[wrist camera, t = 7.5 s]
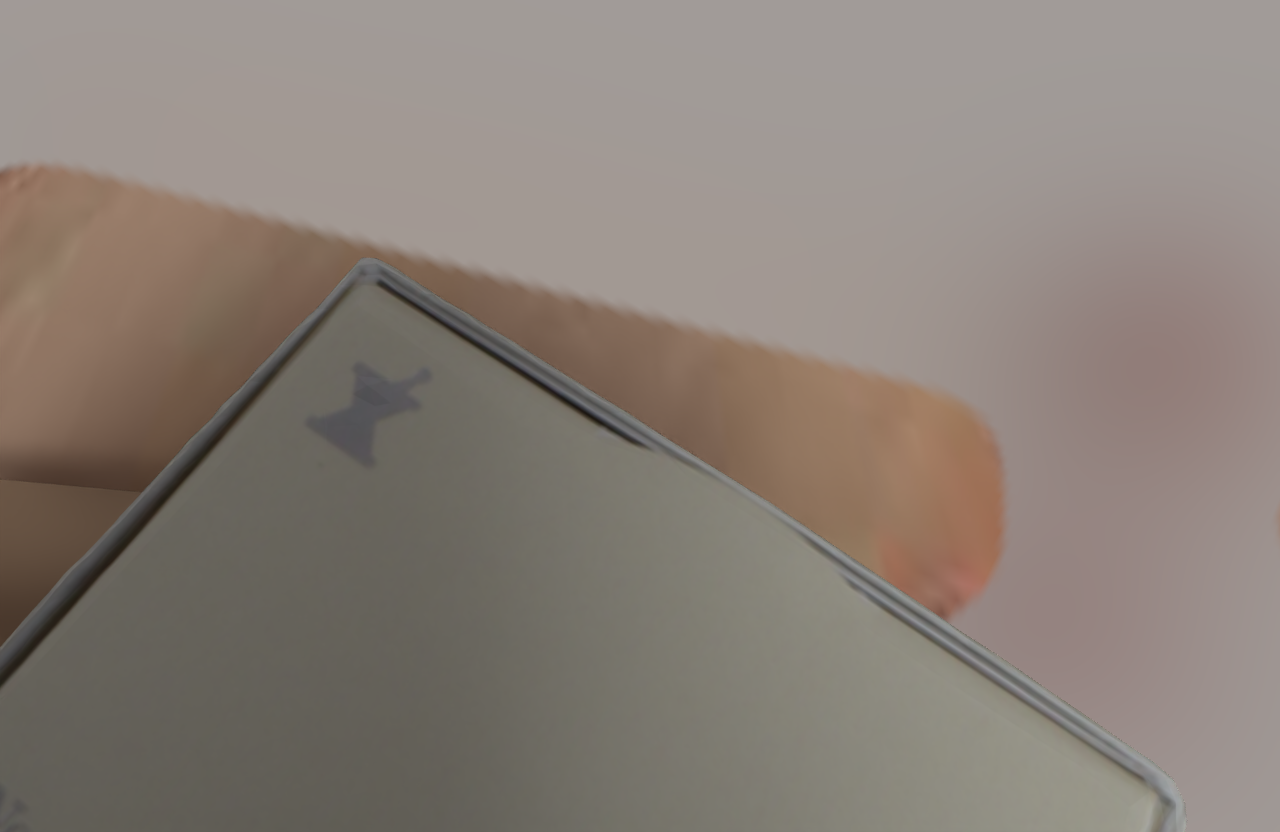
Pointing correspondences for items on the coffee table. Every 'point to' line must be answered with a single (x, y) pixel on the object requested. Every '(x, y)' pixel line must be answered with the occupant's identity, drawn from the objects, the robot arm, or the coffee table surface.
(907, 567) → the coffee table surface
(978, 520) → the coffee table surface
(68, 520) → the walnut plinth
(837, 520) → the coffee table surface
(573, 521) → the skincare box
